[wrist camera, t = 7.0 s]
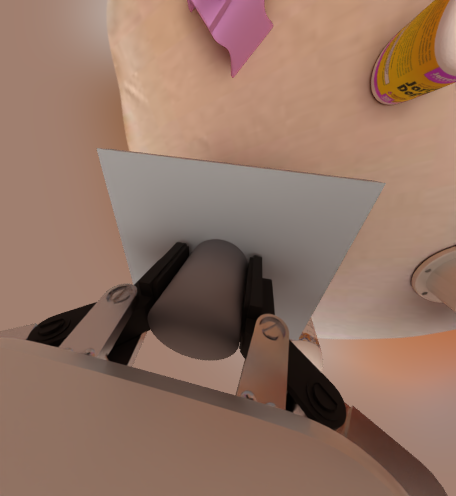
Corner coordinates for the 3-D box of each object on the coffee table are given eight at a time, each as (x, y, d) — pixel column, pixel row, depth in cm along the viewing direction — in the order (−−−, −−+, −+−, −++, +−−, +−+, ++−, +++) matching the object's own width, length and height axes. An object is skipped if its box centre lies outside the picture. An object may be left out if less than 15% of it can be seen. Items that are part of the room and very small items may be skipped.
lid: (372, 180, 8) (569, 223, 3) (295, 329, 14) (314, 426, 9) (111, 149, 10) (-64, 140, 4) (145, 296, 16) (90, 363, 11)
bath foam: (312, 301, 38) (355, 422, 21) (292, 316, 41) (313, 429, 24) (288, 287, 37) (312, 400, 20) (269, 303, 40) (275, 411, 23)
